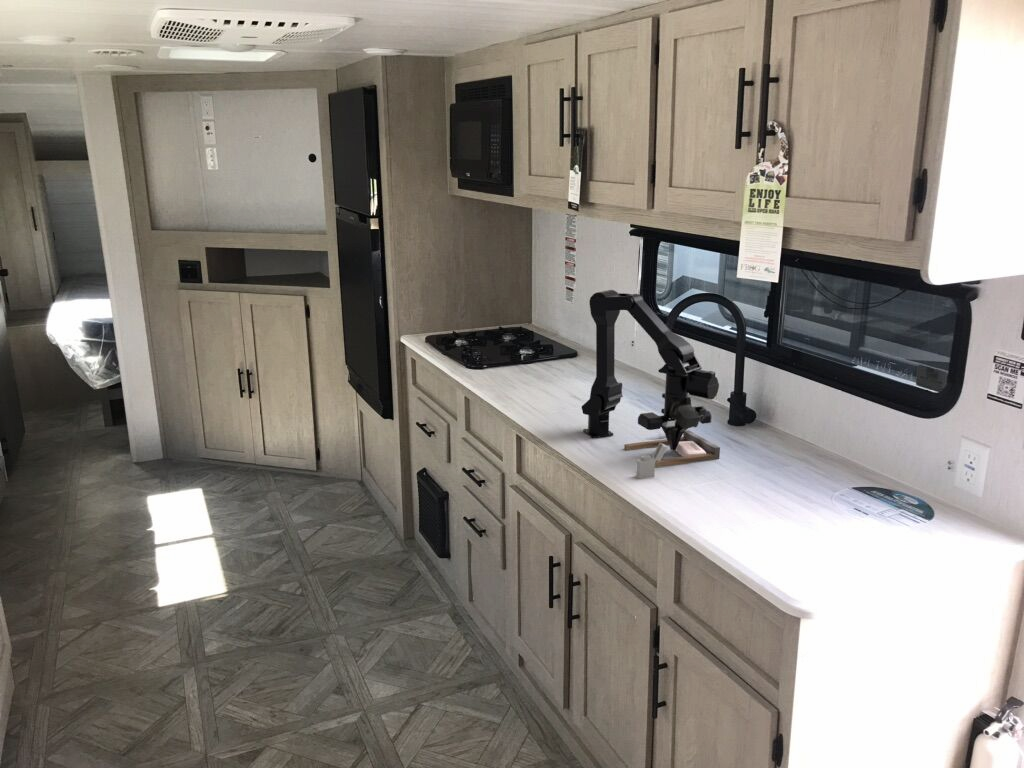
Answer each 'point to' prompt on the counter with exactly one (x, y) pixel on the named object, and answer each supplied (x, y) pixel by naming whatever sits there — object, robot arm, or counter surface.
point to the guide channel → (707, 446)
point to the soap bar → (689, 449)
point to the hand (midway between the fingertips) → (673, 449)
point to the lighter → (649, 462)
